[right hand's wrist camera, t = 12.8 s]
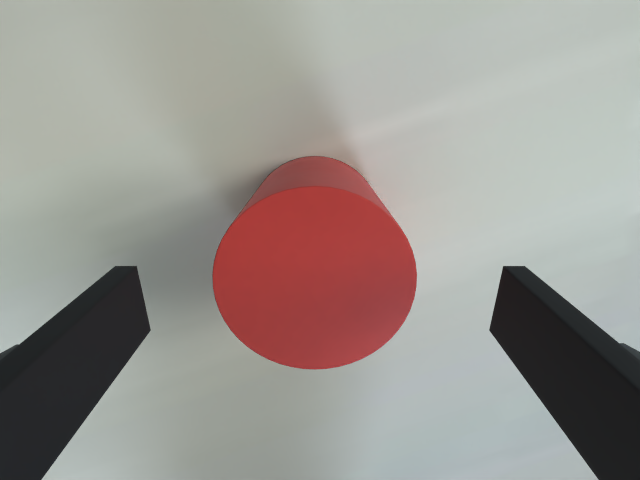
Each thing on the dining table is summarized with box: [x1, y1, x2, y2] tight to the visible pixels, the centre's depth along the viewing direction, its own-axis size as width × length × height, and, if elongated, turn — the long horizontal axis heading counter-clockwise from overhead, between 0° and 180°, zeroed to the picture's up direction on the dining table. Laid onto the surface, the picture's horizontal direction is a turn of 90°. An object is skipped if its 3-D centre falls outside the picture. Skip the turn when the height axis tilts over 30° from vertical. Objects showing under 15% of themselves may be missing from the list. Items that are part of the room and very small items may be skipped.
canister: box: [213, 156, 417, 369], centre depth 19 cm, size 9×9×10 cm
